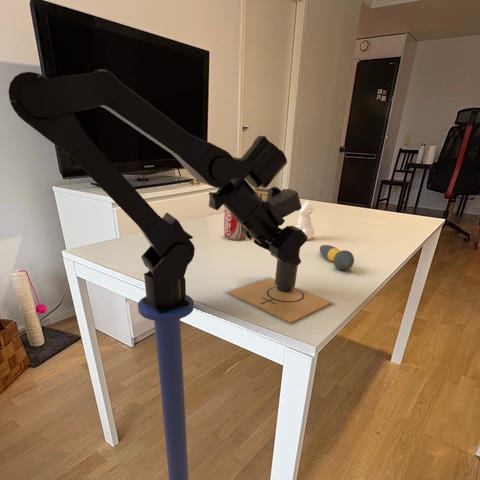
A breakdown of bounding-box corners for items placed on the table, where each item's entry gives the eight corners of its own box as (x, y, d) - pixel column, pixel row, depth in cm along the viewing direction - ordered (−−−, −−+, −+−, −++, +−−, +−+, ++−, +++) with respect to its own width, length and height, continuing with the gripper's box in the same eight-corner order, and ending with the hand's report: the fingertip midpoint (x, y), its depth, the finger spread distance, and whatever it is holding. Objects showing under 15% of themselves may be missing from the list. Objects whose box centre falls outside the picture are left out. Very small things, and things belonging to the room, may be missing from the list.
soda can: (219, 237, 111) (219, 198, 106) (235, 233, 116) (236, 196, 110) (233, 242, 107) (235, 202, 101) (250, 238, 111) (252, 200, 105)
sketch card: (290, 323, 62) (291, 321, 62) (228, 293, 73) (228, 291, 73) (331, 303, 70) (331, 301, 70) (269, 279, 81) (270, 277, 81)
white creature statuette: (287, 233, 119) (291, 197, 113) (312, 235, 118) (317, 199, 112) (288, 241, 110) (292, 202, 105) (315, 242, 110) (320, 204, 104)
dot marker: (273, 292, 73) (279, 231, 67) (274, 284, 77) (280, 226, 70) (294, 294, 72) (302, 233, 66) (294, 286, 76) (302, 227, 70)
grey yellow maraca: (308, 251, 101) (311, 235, 98) (324, 251, 102) (327, 234, 100) (342, 276, 84) (346, 257, 82) (360, 275, 85) (364, 256, 83)
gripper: (304, 180, 54) (348, 243, 63) (257, 168, 69) (298, 221, 78) (256, 233, 56) (306, 287, 65) (220, 210, 71) (264, 257, 80)
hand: (293, 260), depth 72 cm, fingers closed on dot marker, 4 cm apart
